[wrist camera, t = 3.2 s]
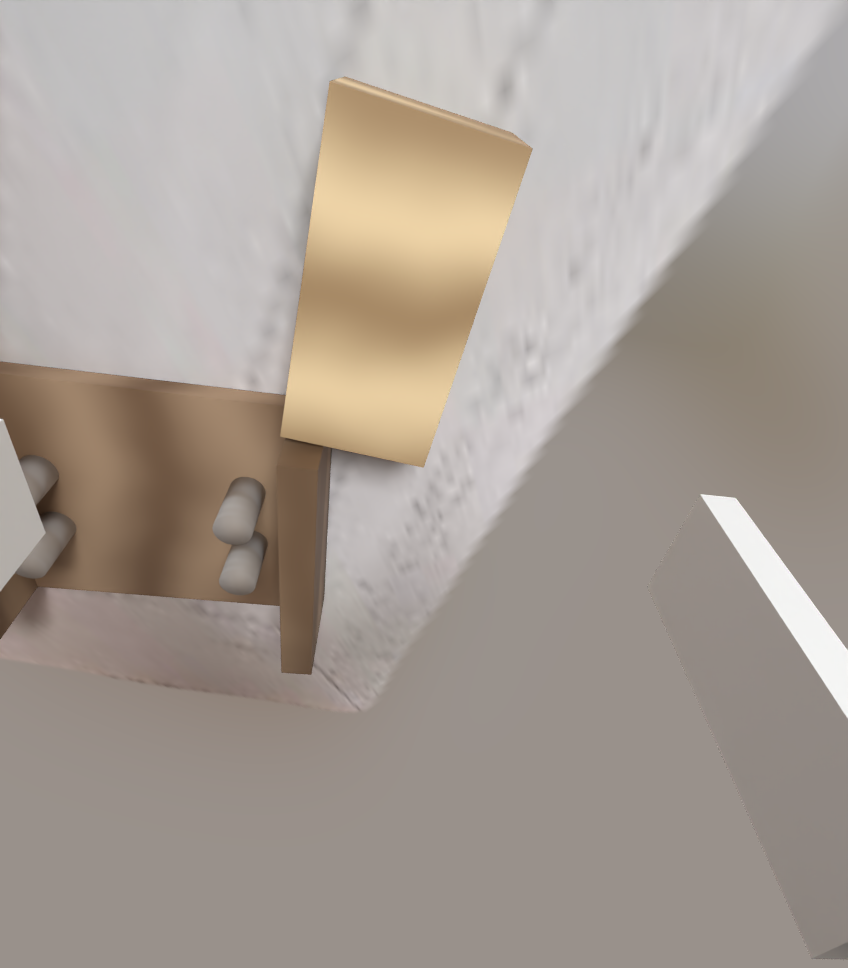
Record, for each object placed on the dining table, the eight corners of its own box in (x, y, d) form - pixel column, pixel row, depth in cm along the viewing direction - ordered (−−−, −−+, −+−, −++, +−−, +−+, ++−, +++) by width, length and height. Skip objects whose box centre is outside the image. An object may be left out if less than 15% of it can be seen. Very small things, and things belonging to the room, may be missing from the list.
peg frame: (18, 571, 33) (-43, 650, 28) (-79, 352, 24) (-187, 417, 20) (324, 596, 34) (311, 674, 30) (333, 400, 26) (318, 470, 22)
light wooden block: (422, 412, 27) (423, 467, 23) (298, 383, 26) (280, 436, 22) (511, 131, 20) (532, 148, 16) (345, 76, 19) (329, 81, 15)
